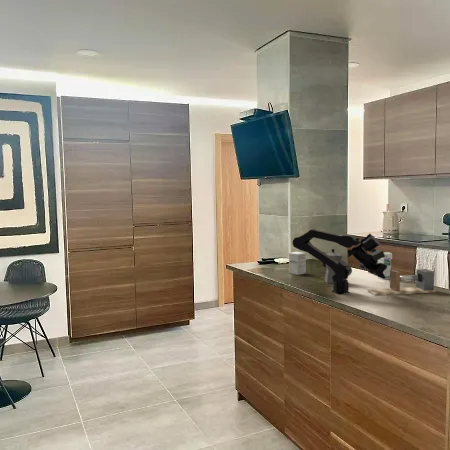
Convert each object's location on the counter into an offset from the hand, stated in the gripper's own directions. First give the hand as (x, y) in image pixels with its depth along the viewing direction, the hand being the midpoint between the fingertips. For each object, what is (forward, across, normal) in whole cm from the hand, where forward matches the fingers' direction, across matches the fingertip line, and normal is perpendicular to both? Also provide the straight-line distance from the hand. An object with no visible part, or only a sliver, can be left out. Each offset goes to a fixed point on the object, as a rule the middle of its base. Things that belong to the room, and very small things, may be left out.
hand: (384, 278), depth 215 cm
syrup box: (+16, +32, -6) cm, 36 cm away
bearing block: (+19, 0, -10) cm, 22 cm away
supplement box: (-14, +57, +25) cm, 63 cm away
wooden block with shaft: (+11, 0, -3) cm, 12 cm away
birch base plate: (+11, 0, -1) cm, 11 cm away
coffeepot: (-6, +30, +16) cm, 35 cm away
